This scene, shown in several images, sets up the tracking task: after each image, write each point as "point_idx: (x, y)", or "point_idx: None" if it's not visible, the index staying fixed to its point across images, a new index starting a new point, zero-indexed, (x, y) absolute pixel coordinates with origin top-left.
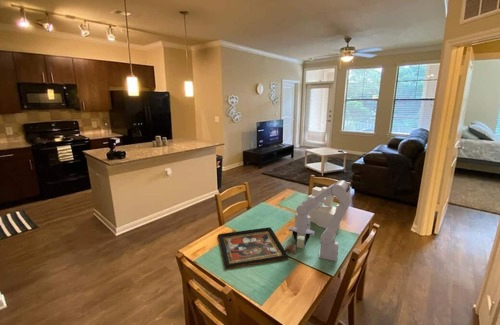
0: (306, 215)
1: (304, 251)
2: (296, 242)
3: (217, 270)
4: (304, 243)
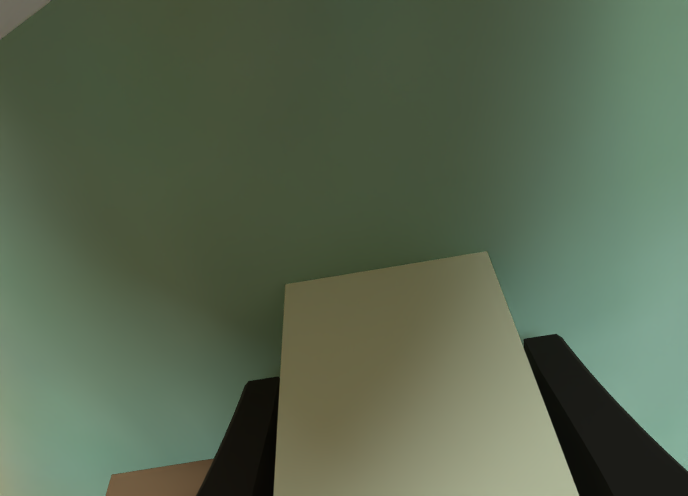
0: None
1: None
2: None
3: None
4: None
